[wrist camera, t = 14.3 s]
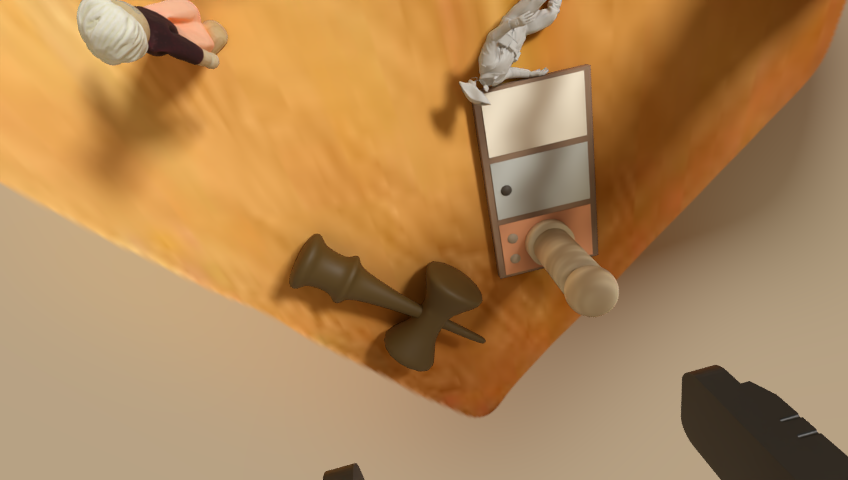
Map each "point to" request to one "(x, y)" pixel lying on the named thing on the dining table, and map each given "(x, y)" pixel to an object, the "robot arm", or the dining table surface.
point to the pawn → (572, 268)
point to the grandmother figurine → (149, 31)
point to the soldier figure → (509, 46)
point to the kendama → (393, 299)
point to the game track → (538, 162)
